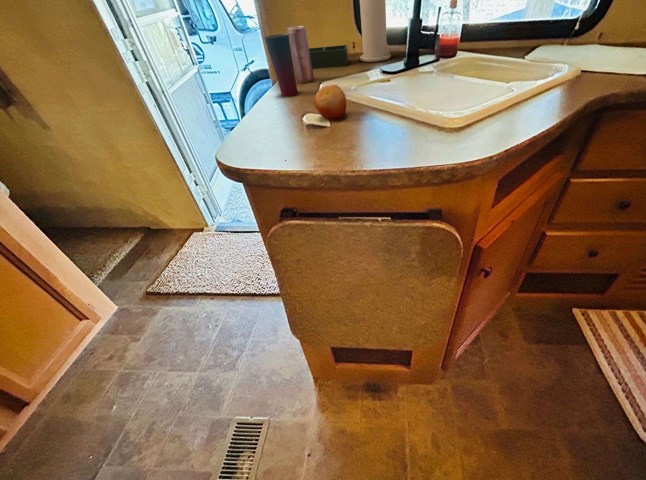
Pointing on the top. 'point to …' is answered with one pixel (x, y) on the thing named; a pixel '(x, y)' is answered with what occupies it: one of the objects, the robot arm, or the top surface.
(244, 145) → the top surface
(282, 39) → the cup
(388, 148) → the top surface
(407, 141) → the top surface
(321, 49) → the rack
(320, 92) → the fruit
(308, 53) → the beverage can
